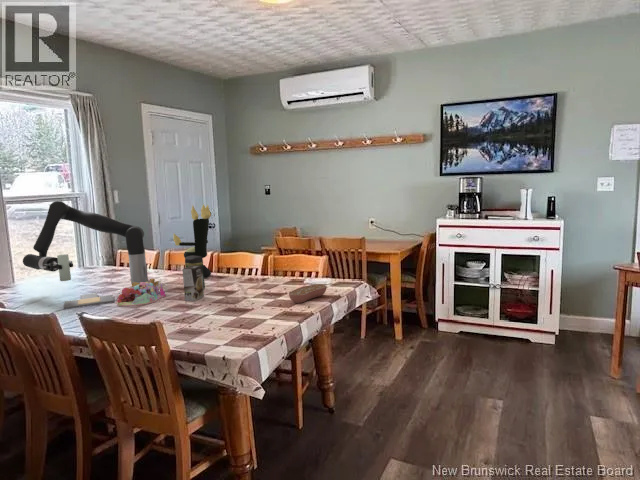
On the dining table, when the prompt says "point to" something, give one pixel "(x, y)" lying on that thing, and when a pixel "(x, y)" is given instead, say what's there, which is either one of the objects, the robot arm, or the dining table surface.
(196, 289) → the coffee box
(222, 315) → the dining table surface
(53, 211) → the robot arm
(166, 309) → the dining table surface
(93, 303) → the t board
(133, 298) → the candy landscape model
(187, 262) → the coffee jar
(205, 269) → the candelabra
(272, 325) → the dining table surface
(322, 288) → the brown planter trough
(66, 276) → the grey-green rectangular block
